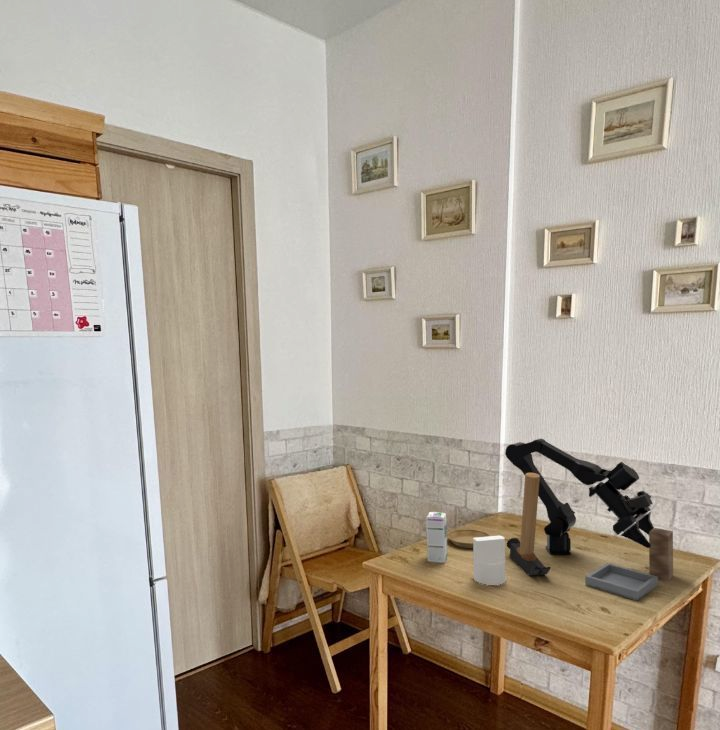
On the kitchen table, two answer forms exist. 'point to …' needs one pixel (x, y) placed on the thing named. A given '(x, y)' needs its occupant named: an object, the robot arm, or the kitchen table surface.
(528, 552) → the hammer
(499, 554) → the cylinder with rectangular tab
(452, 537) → the plant saucer
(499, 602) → the kitchen table surface
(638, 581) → the tray
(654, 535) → the walnut block
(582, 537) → the kitchen table surface
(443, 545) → the syrup box
